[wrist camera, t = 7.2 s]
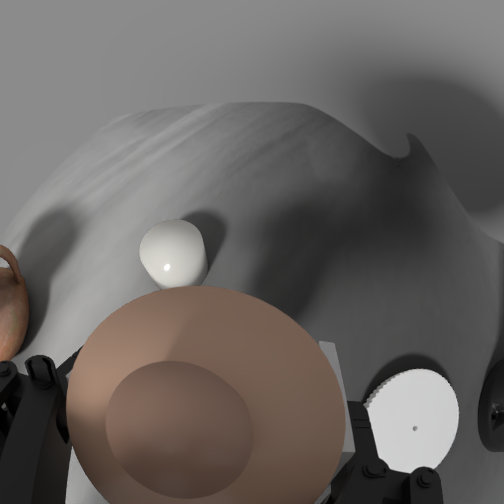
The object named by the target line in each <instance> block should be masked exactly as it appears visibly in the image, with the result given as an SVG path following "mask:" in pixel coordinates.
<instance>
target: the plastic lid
mask: <svg viewBox="0 0 504 504" xmlns="http://www.w3.org/2000/svg"><path fill="white" fill-rule="evenodd" d="M447 382H448V381H447V380H445V378H444V377H443V378H442V375H438V373H435V372H434V371H432V372H431V370H427V369H425V370H423V369H413V370H408V371H405V372H402V373H398V374H396V375H393V376H392V377H390V378H389V379H387V380H385V382H382V383H381V385H380V386H378V387H377V389H376V390H374V391H373V394H370V398H367V400H366V401H367V402H366V403H364V406H365V408H366V409H367V410H368V414H369V418H370V422H371V426H372V428H371V429H372V430H373V434H374V439H375V443H376V447H377V452H378V456H379V458H380V459H382V460H384V461H385V462H386V463H387V464H388V466H389V468H390V469H392V470H395V471H401V472H406V473H411V472H412V471H413V470H415V469H416V468H418V467H423V466H425V467H430V468H432V469H434V468H435V467H437V465H438V464H440V463H441V460H443V459H444V456H446V455H447V452H448V451H449V450H450V449H449V448H450V447H451V446H452V442H453V441H454V438H455V436H456V435H455V433H456V432H457V430H456V429H457V428H458V425H457V424H458V423H459V421H458V418H459V416H458V414H459V411H458V409H459V407H458V406H457V405H458V402H457V398H456V397H455V396H456V394H454V390H452V386H451V387H450V383H447Z"/></svg>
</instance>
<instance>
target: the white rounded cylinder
mask: <svg viewBox="0 0 504 504" xmlns="http://www.w3.org/2000/svg"><path fill="white" fill-rule="evenodd" d="M140 258H141V261H142V263H143V265H144V266H145V268H146V269H147V271H148V273H149V274H150V276H151V277H152V279H153V280H154V282H155V283H156V285H157V286H158V287H159V288H160V289H161V290H164V289H168V288H173V287H182V286H200V285H201V284H202V282H203V281H204V279H205V277H206V275H207V272H208V261H207V257H206V252H205V248H204V243H203V239H202V236H201V233H200V232H199V230H198V229H197V228H196V227H195V226H194V225H193V224H191V223H189V222H187V221H184V220H177V219H174V220H167V221H163V222H161V223H159V224H157V225H155V226H154V227H152V228H151V229H150V230H149V231H148V232H147V233H146V234H145V236H144V238H143V239H142V242H141V245H140Z"/></svg>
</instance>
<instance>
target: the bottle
mask: <svg viewBox="0 0 504 504" xmlns="http://www.w3.org/2000/svg"><path fill="white" fill-rule="evenodd" d="M66 415H67V425H68V430H69V435H70V439H71V443H72V446H73V448H74V451H75V454H76V456H77V459H78V461H79V463H80V465H81V467H82V468H83V470H84V472H85V474H86V475H87V477H88V478H89V480H90V481H91V483H92V484H93V485H94V487H95V488H96V489H97V490H98V492H99V493H100V494H101V495H102V496H103V497H104V498H105V499H106V500H107V501H108V502H109V503H110V504H314V502H315V501H316V500H317V499H318V498H319V497H320V495H321V494H322V493H323V492H324V490H325V489H326V487H327V485H328V484H329V482H330V481H331V479H332V477H333V475H334V473H335V471H336V468H337V466H338V464H339V461H340V457H341V454H342V450H343V446H344V439H345V430H346V421H345V407H344V402H343V396H342V392H341V389H340V386H339V383H338V380H337V377H336V374H335V372H334V370H333V369H332V367H331V365H330V363H329V361H328V359H327V357H326V356H325V354H324V353H323V351H322V350H321V349H320V347H319V346H318V344H317V343H316V342H315V341H314V340H313V338H312V337H311V336H310V335H309V334H308V333H307V332H306V331H305V330H304V329H303V328H302V327H301V326H300V325H299V324H297V323H296V322H295V321H294V320H293V319H292V318H290V317H289V316H287V315H286V314H284V313H283V312H282V311H280V310H279V309H277V308H276V307H274V306H272V305H270V304H268V303H266V302H264V301H262V300H260V299H258V298H255V297H252V296H250V295H247V294H244V293H242V292H238V291H234V290H230V289H226V288H219V287H211V286H182V287H173V288H168V289H164V290H159V291H155V292H152V293H150V294H147V295H144V296H141V297H139V298H137V299H135V300H133V301H131V302H129V303H127V304H125V305H124V306H122V307H121V308H119V309H118V310H116V311H115V312H113V313H112V314H111V315H110V316H109V317H107V318H106V319H105V320H104V321H103V322H102V323H101V324H100V325H99V326H98V327H97V328H96V329H95V330H94V332H93V333H92V334H91V335H90V336H89V338H88V339H87V341H86V342H85V344H84V346H83V347H82V349H81V350H80V352H79V355H78V357H77V359H76V361H75V363H74V366H73V369H72V372H71V375H70V379H69V384H68V390H67V400H66Z"/></svg>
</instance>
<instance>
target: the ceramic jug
mask: <svg viewBox="0 0 504 504" xmlns="http://www.w3.org/2000/svg"><path fill="white" fill-rule="evenodd" d="M0 257H1V258H3V259H4V260H6V261H7V262H8V264H9V265H10V267H11V269H12V270H11V269H8V268H3V267H0V361H6V360H8V361H10V360H11V359H12V358H13V357H14V356H15V355H16V354H17V352H18V350H19V349H20V347H21V345H22V343H23V341H24V338H25V335H26V331H27V327H28V322H29V298H28V293H27V289H26V285H25V280H24V278H23V276H22V275H21V274H20V271H19V267H18V263H17V260H16V258H15V256H14V255H13V253H12V252H11V251H10V250H9V249H8V248H6V247H5V246H3V245H0Z"/></svg>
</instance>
